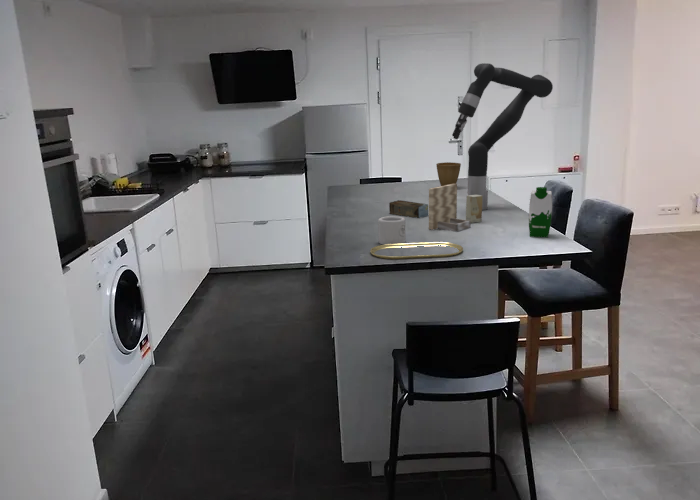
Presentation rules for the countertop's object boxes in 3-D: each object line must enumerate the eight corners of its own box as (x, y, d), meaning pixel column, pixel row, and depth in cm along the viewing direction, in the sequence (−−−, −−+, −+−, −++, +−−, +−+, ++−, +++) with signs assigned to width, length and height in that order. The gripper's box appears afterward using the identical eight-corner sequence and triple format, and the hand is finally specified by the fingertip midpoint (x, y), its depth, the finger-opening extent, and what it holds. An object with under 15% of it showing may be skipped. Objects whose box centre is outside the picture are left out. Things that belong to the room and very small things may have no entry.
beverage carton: (418, 218, 281) (418, 205, 280) (388, 214, 295) (388, 201, 293) (428, 216, 287) (428, 202, 285) (398, 212, 300) (398, 199, 298)
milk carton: (527, 237, 238) (529, 188, 233) (528, 232, 246) (530, 185, 241) (550, 238, 235) (553, 188, 230) (550, 233, 243) (553, 185, 238)
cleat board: (452, 222, 270) (453, 183, 265) (475, 225, 261) (476, 185, 257) (428, 229, 258) (428, 188, 253) (451, 233, 249) (452, 191, 245)
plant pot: (431, 189, 365) (431, 164, 361) (446, 186, 375) (446, 161, 371) (450, 192, 355) (450, 165, 351) (465, 189, 364) (465, 163, 360)
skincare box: (471, 223, 267) (471, 196, 264) (465, 221, 271) (465, 195, 268) (482, 221, 270) (483, 195, 267) (476, 220, 274) (476, 194, 271)
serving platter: (368, 249, 229) (368, 245, 229) (456, 245, 231) (456, 241, 231) (372, 261, 211) (372, 257, 211) (468, 257, 213) (468, 253, 213)
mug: (397, 247, 229) (397, 222, 227) (373, 244, 235) (373, 219, 232) (413, 239, 240) (412, 215, 238) (389, 237, 246) (389, 213, 244)
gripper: (476, 105, 265) (461, 139, 268) (477, 110, 279) (462, 142, 281) (461, 99, 266) (446, 132, 269) (462, 104, 280) (448, 136, 283)
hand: (454, 137), depth 275 cm, fingers open, 8 cm apart
